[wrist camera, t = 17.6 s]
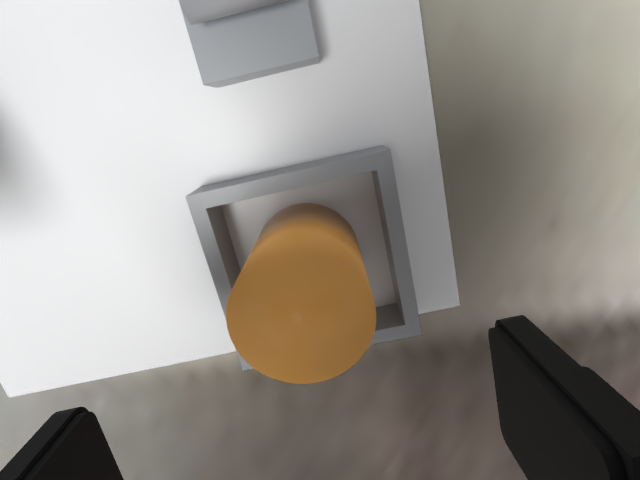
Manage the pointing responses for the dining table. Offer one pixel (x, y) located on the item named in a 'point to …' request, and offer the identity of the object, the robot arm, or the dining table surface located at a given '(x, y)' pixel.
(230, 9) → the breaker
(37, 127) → the panel
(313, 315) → the cap
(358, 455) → the dining table surface
